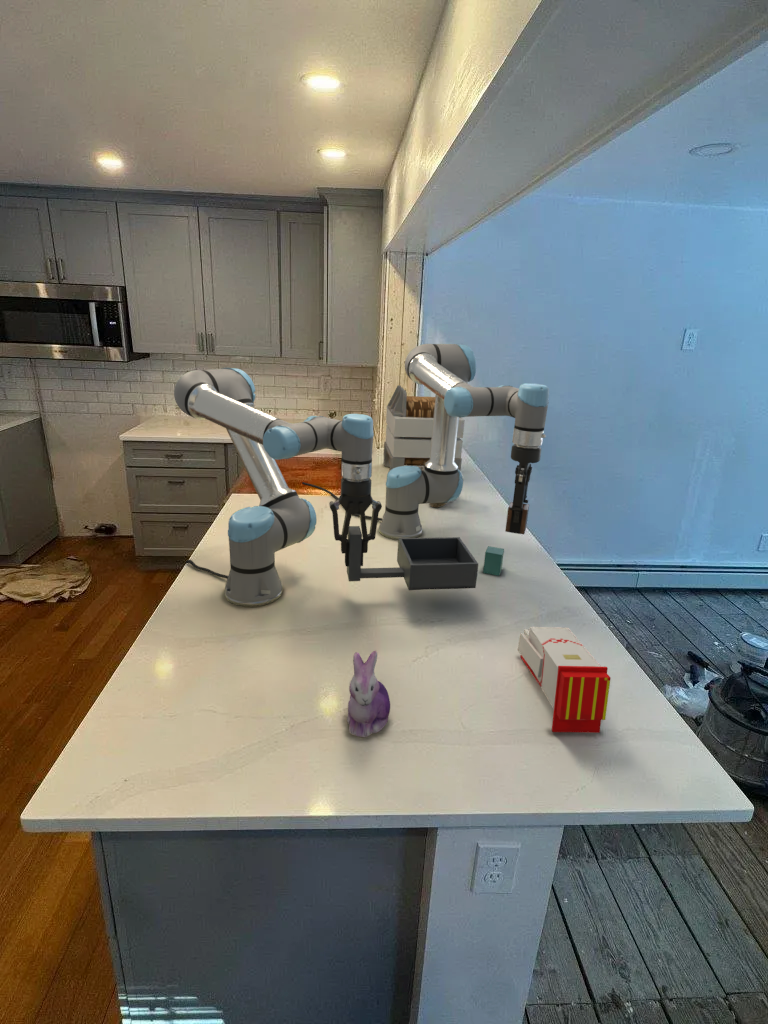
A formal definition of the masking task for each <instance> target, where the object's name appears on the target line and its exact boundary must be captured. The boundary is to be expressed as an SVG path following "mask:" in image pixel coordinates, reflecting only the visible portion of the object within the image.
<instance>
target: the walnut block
mask: <svg viewBox="0 0 768 1024" xmlns="http://www.w3.org/2000/svg"><path fill="white" fill-rule="evenodd" d="M512 505H513V501H510V503H509V505H508V508H507V513H506V523H505V524H506V525H505V530H504V531H505V533H510V532H509V531H510V524H511V516H512V510H510V507H512ZM529 510H530V504H529V503H523V514H522V521H521V529H520V534H519V535H525V533H526V530H527V526H528V525H527V524H528V518H529V512H530V511H529Z"/></svg>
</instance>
